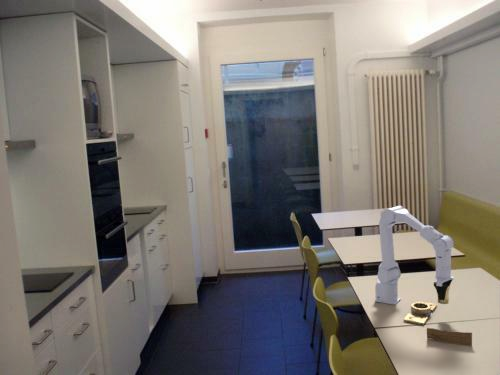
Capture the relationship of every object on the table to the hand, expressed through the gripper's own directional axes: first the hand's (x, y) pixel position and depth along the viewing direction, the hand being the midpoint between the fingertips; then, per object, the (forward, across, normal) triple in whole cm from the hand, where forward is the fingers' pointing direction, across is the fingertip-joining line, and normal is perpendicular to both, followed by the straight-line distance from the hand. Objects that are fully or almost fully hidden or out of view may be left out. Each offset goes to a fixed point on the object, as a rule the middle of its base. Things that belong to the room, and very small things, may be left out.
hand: (443, 297), depth 194 cm
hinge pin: (+2, 0, 0) cm, 2 cm away
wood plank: (+9, -21, -7) cm, 24 cm away
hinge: (+9, 0, +9) cm, 13 cm away
